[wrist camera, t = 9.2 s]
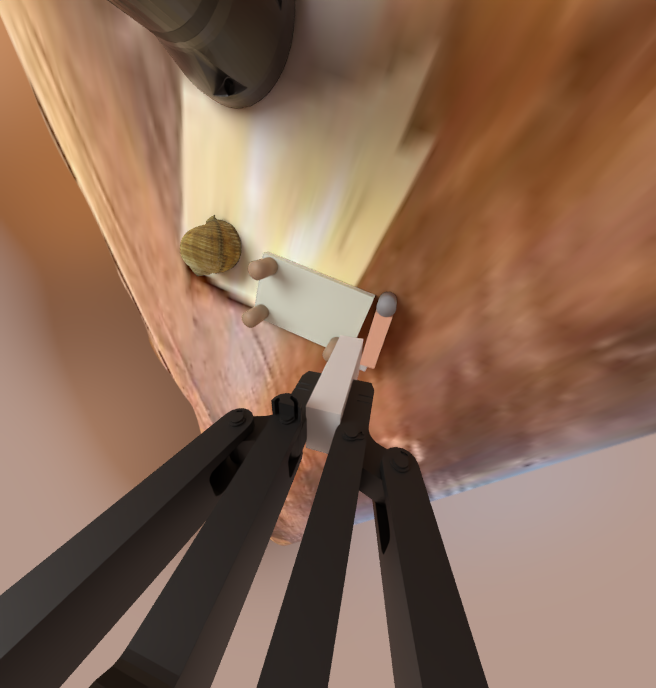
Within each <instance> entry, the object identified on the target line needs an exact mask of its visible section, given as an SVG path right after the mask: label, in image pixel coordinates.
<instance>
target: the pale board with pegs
mask: <svg viewBox="0 0 656 688" xmlns="http://www.w3.org/2000/svg"><path fill="white" fill-rule="evenodd" d="M248 272H249V274H250V276H251V277H252V278H253V279H255V280H259V282H258V289H257V295H256V302H255V307H253V308H252V309H250V310H248V311H247V312H245V313H243V315H242V321H243V323H244V324H245V325H246V326H247V327H250V328H252V327H255V326H256V325H258V324H259V323H260V322H262V321H263V320H264V321H267V322H269V323H271V324H273V325H276V326H278V327H280V328H283V329H285V330H287V331H289V332H292V333H294V334H296V335H299V336H301V337H303V338H306V339H308V340H310V341H312V342H315V343H317V344H319V345H322V346H324V347H326V348H325V350H324V351H323V358H324V359H325V360H326V361H327V362H328V360H329V358H330V356H331V354H332V352H333V350H334V348H335V346H336V343H337V341H338V339H339V337H340V335H343V336H349V337H355V338H357V336H358V333H359V331H360V329H361V327H362V324H363V322H364V320H365V318H366V315H367V313H368V311H369V309H370V306H371V304H372V302H373V300H374V297H375V295H374V294H372V293H369V292H367V291H364V290H362V289H359V288H357V287H354V286H352V285H349V284H347V283H344V282H342V281H340V280H337V279H335V278H332V277H330V276H327V275H325V274H322V273H320V272H317V271H315V270H312V269H310V268H308V267H305V266H303V265H300V264H298V263H295V262H293V261H290V260H288V259H285V258H283V257H280V256H278V255H276V254H273V253H271V252H264V253H263V257H262V259H259V260H255V261H252V262H250V264H249V266H248ZM361 357H362V356H361ZM366 368H367V367H366V366H363V365H360V368H359V369H360V370H362V371H365V370H366Z"/></svg>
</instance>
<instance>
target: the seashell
mask: <svg viewBox="0 0 656 688" xmlns="http://www.w3.org/2000/svg"><path fill="white" fill-rule="evenodd" d="M180 253H181V257H182V258H183V260H184V262H185V263H186V264H187V265H189V266H190V267H191V269H192V270H193V271H194V273H195V274H196V275H197V276H200V275H209V274H212V273H221V272H225V271H226V270H229V269H231V268H233V267H234V265H236V263H237V262H238V261H239V258H240V255H241V242H240V238H239V236H238V234H237V231H236V230H235V228H234V227H233V226H232V225H231V224H229V223H226V222H225V221H222V220H217V219H216V218H215V215H214V216H212V217H210V218H209V219H208V220H207V221H206V224H205V225H202V226H198V227H195V228H193V229H191V230H189V231H188V232H187V233H186V234H185V235H184V236H183V238H182V240H181V244H180Z"/></svg>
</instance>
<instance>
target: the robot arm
mask: <svg viewBox="0 0 656 688" xmlns="http://www.w3.org/2000/svg"><path fill="white" fill-rule="evenodd" d="M108 1H109V2H111V3H112V4H113V5H115V6H116V7H117V8H119V9H120V10H122V11H123V12H124V13H126V14H127V15H128V16H130V17H131V18H133V19H134V20H135V21H137V22H138V23H140V24H141V25H143V26H144V27H145V28H147V29H148V30H149V31H150V32H152V33H153V34H154V35H155V36H156V37H157V38H158V40H159V41H160V42H161V44H162V45H163V46H164V48H165V49H166V50H167V52H168V53H169V54H170V56H171V57H172V58H173V59H174V61H175V62H176V63H177V65H178V66H179V67H180V69H181V70H182V71H183V73H184V74H185V75H186V77H187V78H188V79H189V80H190V81H191V82H192V83H193V84H194V85H195V86H196V87H197V88H198V89H199V90H200V91H202V92H203V93H204V94H206V95H207V96H209V97H211V98H212V99H214V100H215V101H217V102H218V103H220V104H222V105H225V106H228V107H233V108H243V107H247V106H250V105H253V104H255V103H256V102H258V101H260V100H261V99H262V98H263V97H264V96H266V95H267V93H268V92H269V91H270V90H271V89H272V88H273V86H274V85H275V83H276V82H277V80H278V78H279V76H280V74H281V72H282V70H283V68H284V65H285V63H286V60H287V57H288V54H289V50H290V46H291V41H292V35H293V28H294V17H295V0H108ZM362 346H363V339H361V338H355V337H349V336H343V335H340V337H339V339H338V341H337V343H336V346H335V348H334V350H333V352H332V354H331V356H330V358H329V360H328V362H327V364H326V366H325V368H324V370H323V372H322V373H317V372H312V371H308V372H307V373H305V374H304V375H302V377H301V379H300V380H299V383H298V384H297V385H296V388H295V389H294V390H293V392H292V394H290V393H285V394H280V395H278V396H276V397H274V398H273V399H272V400H271V402H272V411H273V415H269V416H253V414H252V412H251V411H249V410H248V409H244V408H239V409H235V410H232V411H230V412H228V413H227V414H225V415H224V416H223V417H222V418H220V419H219V420H218V421H217V422H215V423H214V424H213V425H212V426H210V427H209V428H208V429H207V430H205V431H204V432H203V433H202V434H200V435H199V436H198V437H197V438H195V439H194V440H193V441H192V442H191V443H189V444H188V445H187V446H186V447H184V448H183V449H182V450H181V451H179V452H178V453H177V454H176V455H174V456H173V457H172V458H171V459H169V460H168V461H167V462H166V463H165V464H163V465H162V466H161V467H159V468H158V469H157V470H156V471H154V472H153V473H152V474H151V475H149V476H148V477H147V478H146V479H144V480H143V481H142V482H141V483H140V484H139V485H137V486H136V487H135V488H133V489H132V490H131V491H130V492H128V493H127V494H126V495H125V496H123V497H122V498H121V499H120V500H118V501H117V502H116V503H115V504H113V505H112V506H111V507H110V508H109V509H107V510H106V511H105V512H103V513H102V514H101V515H100V516H99V517H97V518H96V519H95V520H94V521H92V522H91V523H90V524H89V525H87V526H86V527H85V528H84V529H82V530H81V531H80V532H79V533H77V534H76V535H75V536H74V537H72V538H71V539H70V540H69V541H67V542H66V543H65V544H64V545H63V546H61V547H60V548H59V549H57V550H56V551H55V552H54V553H52V554H51V555H50V556H49V557H48V558H46V559H45V560H44V561H43V562H41V563H40V564H39V565H38V566H36V567H35V568H34V569H33V570H31V571H30V572H29V573H28V574H26V575H25V576H24V577H23V578H21V579H20V580H19V581H18V582H17V583H15V584H14V585H13V586H11V587H10V588H9V589H8V590H6V591H5V592H4V593H3V594H2V595H0V688H60V687H61V685H62V684H63V683H64V682H65V681H66V680H67V679H68V677H69V676H70V675H71V674H72V673H73V672H74V671H75V669H76V668H77V667H78V666H79V665H80V664H81V663H82V661H83V660H84V659H85V658H86V657H87V655H89V653H90V652H91V651H92V650H93V649H94V648H95V647H96V645H97V644H98V643H99V642H100V641H101V640H102V639H103V638H104V636H105V635H106V634H107V633H108V632H109V631H110V630H111V628H112V627H113V626H114V625H115V624H116V623H117V622H118V620H119V619H120V618H121V617H122V616H123V615H124V614H125V612H126V611H127V610H128V609H129V608H130V607H131V606H132V605H133V603H134V602H135V601H136V600H137V599H138V598H139V597H140V595H141V594H142V593H143V592H144V591H145V590H146V588H147V587H148V586H149V585H150V584H151V583H152V582H153V581H154V579H155V578H156V577H157V576H158V575H159V574H160V572H161V571H162V570H163V569H164V568H165V567H166V566H167V565H168V563H169V562H170V561H171V560H172V559H173V558H174V557H175V556H176V554H177V553H178V552H179V551H180V550H181V549H182V548H183V546H184V545H185V544H186V543H187V542H188V541H189V540H190V538H191V537H192V536H193V535H194V534H195V533H196V532H197V530H198V529H199V528H200V527H201V526H202V525H203V524H204V525H203V527H202V528H201V530H200V531H199V533H198V535H197V536H196V538H195V539H194V541H193V543H192V544H191V546H190V547H189V549H188V551H187V552H186V554H185V555H184V557H183V559H182V560H181V562H180V563H179V565H178V567H177V568H176V570H175V571H174V573H173V574H172V576H171V578H170V579H169V581H168V582H167V584H166V586H165V587H164V589H163V590H162V592H161V594H160V595H159V597H158V599H157V600H156V602H155V603H154V605H153V606H152V608H151V610H150V611H149V613H148V614H147V616H146V618H145V619H144V621H143V622H142V624H141V626H140V627H139V629H138V630H137V632H136V634H135V635H134V637H133V638H132V640H131V642H130V643H129V645H128V646H127V648H126V649H125V651H124V652H123V654H122V655H121V657H120V658H119V659H118V660H117V662H115V664H114V665H113V666H112V667H111V668H110V669H108V670H107V671H106V672H105V673H104V674H102V675H101V676H100V677H99V678H98V679H96V680H95V681H94V682H93V683H92V685H91V686H90V687H89V688H210V687H211V685H212V682H213V680H214V677H215V675H216V672H217V670H218V667H219V665H220V662H221V660H222V657H223V655H224V652H225V650H226V647H227V645H228V642H229V640H230V637H231V635H232V632H233V630H234V627H235V625H236V622H237V619H238V617H239V615H240V612H241V609H242V607H243V605H244V602H245V600H246V597H247V594H248V592H249V590H250V587H251V584H252V582H253V579H254V577H255V575H256V572H257V570H258V567H259V565H260V562H261V560H262V557H263V555H264V552H265V549H266V547H267V544H268V542H269V540H270V537H271V535H272V532H273V530H274V527H275V525H276V522H277V520H278V517H279V515H280V512H281V510H282V507H283V505H284V502H285V500H286V497H287V495H288V492H289V490H290V487H291V485H292V482H293V480H294V477H295V475H296V472H297V470H298V467H299V464H300V462H301V459H302V455H303V447H304V445H305V443H306V448H309V449H313V450H316V451H320V452H323V453H327V454H328V456H327V459H326V463H325V466H324V469H323V472H322V476H321V479H320V482H319V486H318V489H317V492H316V495H315V499H314V502H313V505H312V508H311V512H310V515H309V518H308V521H307V525H306V528H305V531H304V534H303V538H302V541H301V544H300V548H299V551H298V554H297V557H296V561H295V564H294V567H293V570H292V574H291V577H290V580H289V583H288V587H287V590H286V593H285V596H284V600H283V603H282V606H281V610H280V613H279V616H278V620H277V623H276V626H275V629H274V632H273V636H272V639H271V642H270V645H269V649H268V652H267V655H266V658H265V662H264V665H263V668H262V672H261V675H260V678H259V682H258V684H257V688H328V682H329V675H330V669H331V663H332V657H333V651H334V644H335V638H336V632H337V625H338V619H339V612H340V606H341V600H342V594H343V587H344V581H345V575H346V568H347V562H348V556H349V549H350V542H351V536H352V530H353V524H354V518H355V512H356V505H357V499H358V493H359V490H360V491H361V492H362V493H364V494H365V495H367V496H368V497H369V498H371V499H372V501H373V509H374V518H375V526H376V533H377V541H378V542H377V543H378V550H379V559H380V567H381V575H382V583H383V592H384V600H385V609H386V617H387V625H388V634H389V641H390V650H391V658H392V666H393V675H394V683H395V688H489V687H488V684H487V681H486V678H485V675H484V671H483V668H482V665H481V662H480V659H479V655H478V652H477V649H476V646H475V643H474V640H473V637H472V633H471V630H470V627H469V624H468V621H467V617H466V614H465V611H464V608H463V605H462V601H461V598H460V595H459V592H458V589H457V586H456V583H455V579H454V576H453V573H452V570H451V567H450V563H449V560H448V557H447V554H446V551H445V548H444V544H443V541H442V538H441V535H440V532H439V529H438V525H437V522H436V519H435V516H434V513H433V509H432V506H431V503H430V500H429V497H428V493H427V490H426V487H425V484H424V481H423V478H422V474H421V471H420V468H419V465H418V463H417V461H416V459H415V457H414V456H413V455H412V454H411V453H410V452H408V451H407V450H405V449H403V448H398V447H393V448H389V449H386V448H384V447H382V446H381V445H379V444H378V443H376V442H375V441H374V440H373V439H372V437H371V436H370V433H369V421H370V414H371V408H372V401H373V395H374V388H373V386H372V383H369V382H364V381H359V380H357V378H358V374H359V368H360V361H361V353H362ZM205 521H206V522H205ZM204 522H205V523H204Z"/></svg>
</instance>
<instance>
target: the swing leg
mask: <svg viewBox="0 0 656 688" xmlns="http://www.w3.org/2000/svg"><path fill="white" fill-rule="evenodd" d="M396 304H397V298H396V296H395V294H393V293H392V292H384V293H383V294H381V296H380V297H379V300H378V304H377V309H376V312H375V315H374V319H373V322H372V325H371V328H370V331H369V335H368V338H367V341H366V344H365V347H364V351H363V354H362V357H361V361H360V365H363V366H366V367H370V368H373V369H374V368H375V365H376V362H377V359H378V356H379V354H380V351H381V348H382V345H383V342H384V339H385V337H386V334H387V331H388V328H389V325H390V323H391V320H392V316H393V314H394V313H395V311H396Z"/></svg>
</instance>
